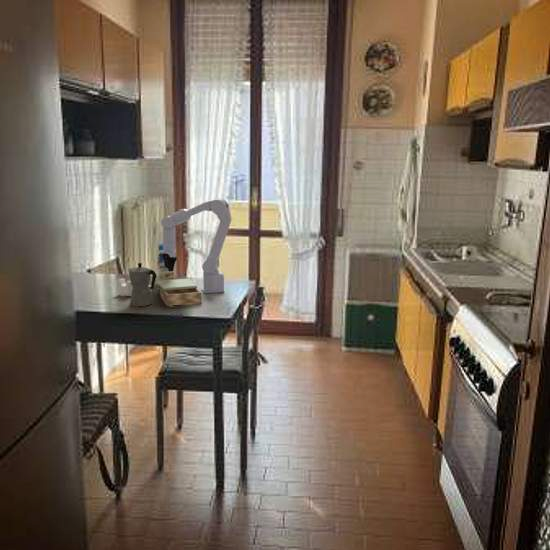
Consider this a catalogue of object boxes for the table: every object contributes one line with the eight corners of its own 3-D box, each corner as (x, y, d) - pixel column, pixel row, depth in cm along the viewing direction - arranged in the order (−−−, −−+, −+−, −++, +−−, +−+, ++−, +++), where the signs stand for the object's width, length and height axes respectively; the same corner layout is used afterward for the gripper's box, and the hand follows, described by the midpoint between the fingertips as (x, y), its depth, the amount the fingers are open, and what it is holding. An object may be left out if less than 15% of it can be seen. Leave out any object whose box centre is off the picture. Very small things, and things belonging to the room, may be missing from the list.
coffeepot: (121, 304, 234) (120, 263, 230) (137, 299, 242) (135, 259, 238) (149, 309, 226) (148, 266, 223) (164, 304, 234) (163, 263, 231)
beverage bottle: (176, 282, 277) (175, 243, 273) (173, 285, 269) (172, 245, 265) (159, 281, 277) (158, 243, 273) (156, 285, 269) (155, 245, 265)
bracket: (128, 298, 245) (127, 281, 243) (119, 295, 249) (118, 279, 248) (151, 293, 255) (151, 277, 253) (142, 290, 259) (142, 275, 258)
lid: (188, 287, 258) (188, 278, 257) (197, 295, 243) (197, 285, 242) (157, 289, 252) (156, 280, 252) (163, 297, 238) (163, 288, 237)
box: (193, 295, 250) (193, 285, 249) (201, 303, 237) (201, 292, 236) (160, 298, 245) (160, 287, 244) (167, 306, 231) (166, 295, 230)
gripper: (157, 239, 261) (158, 266, 264) (163, 243, 248) (163, 273, 251) (172, 238, 264) (172, 266, 267) (178, 243, 251) (178, 272, 254)
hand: (169, 269), depth 259 cm, fingers open, 7 cm apart
